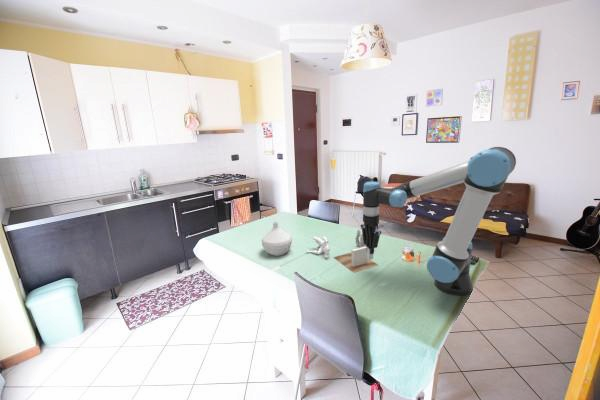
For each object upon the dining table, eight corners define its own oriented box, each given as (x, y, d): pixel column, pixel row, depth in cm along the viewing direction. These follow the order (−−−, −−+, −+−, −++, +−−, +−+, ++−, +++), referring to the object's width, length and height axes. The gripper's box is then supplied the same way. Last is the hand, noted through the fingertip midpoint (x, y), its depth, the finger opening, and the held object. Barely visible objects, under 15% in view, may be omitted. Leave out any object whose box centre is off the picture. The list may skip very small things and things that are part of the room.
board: (378, 267, 147) (378, 265, 146) (353, 275, 140) (353, 272, 140) (356, 252, 164) (356, 251, 164) (332, 259, 158) (332, 257, 158)
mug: (366, 255, 161) (366, 235, 158) (351, 248, 170) (351, 230, 167) (375, 251, 165) (375, 232, 162) (360, 245, 174) (360, 227, 171)
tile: (367, 262, 150) (367, 247, 147) (353, 266, 146) (353, 251, 144) (365, 261, 151) (365, 246, 149) (351, 265, 148) (351, 249, 145)
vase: (298, 250, 171) (297, 221, 166) (276, 262, 158) (274, 230, 153) (278, 243, 183) (276, 215, 178) (256, 253, 170) (253, 223, 165)
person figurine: (303, 235, 167) (327, 237, 154) (317, 233, 176) (340, 235, 163) (304, 257, 166) (327, 260, 154) (318, 254, 175) (341, 257, 163)
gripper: (386, 216, 129) (384, 262, 135) (368, 209, 141) (367, 252, 147) (373, 219, 126) (372, 266, 132) (356, 212, 137) (356, 255, 144)
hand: (370, 258), depth 139 cm, fingers closed
